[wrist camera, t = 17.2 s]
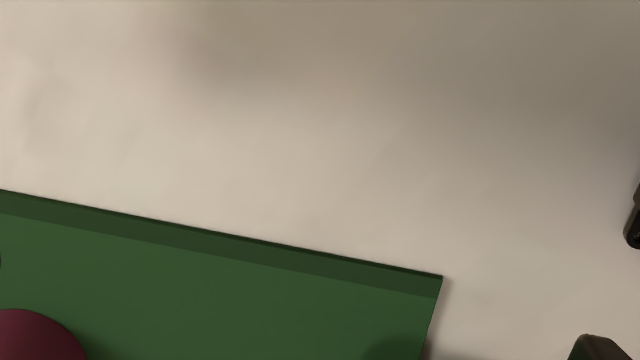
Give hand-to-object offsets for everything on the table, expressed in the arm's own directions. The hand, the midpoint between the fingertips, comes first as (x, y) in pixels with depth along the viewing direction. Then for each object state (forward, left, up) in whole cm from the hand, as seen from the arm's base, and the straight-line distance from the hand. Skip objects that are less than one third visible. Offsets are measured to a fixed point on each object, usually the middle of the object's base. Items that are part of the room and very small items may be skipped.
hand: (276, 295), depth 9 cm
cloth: (+6, +15, -13) cm, 21 cm away
